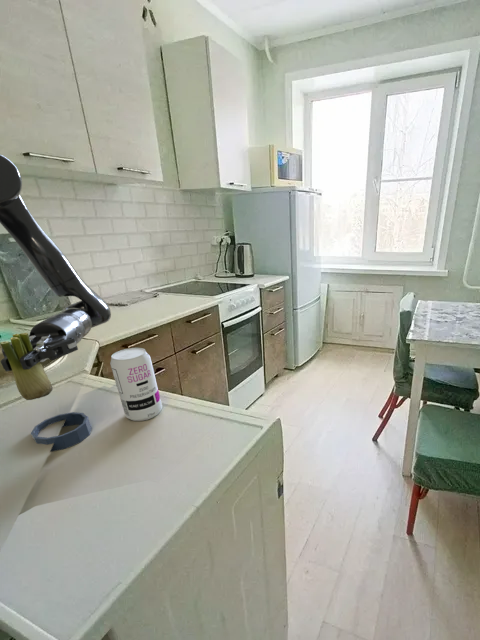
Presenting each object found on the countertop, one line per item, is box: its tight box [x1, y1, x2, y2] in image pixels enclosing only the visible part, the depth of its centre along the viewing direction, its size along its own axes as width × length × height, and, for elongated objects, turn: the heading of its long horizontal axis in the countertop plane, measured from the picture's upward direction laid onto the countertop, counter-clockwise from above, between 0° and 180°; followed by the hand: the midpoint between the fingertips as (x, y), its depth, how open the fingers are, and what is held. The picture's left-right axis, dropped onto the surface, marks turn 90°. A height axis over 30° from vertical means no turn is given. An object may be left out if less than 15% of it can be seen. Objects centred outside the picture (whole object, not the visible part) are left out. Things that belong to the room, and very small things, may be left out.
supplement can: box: [109, 347, 163, 422], centre depth 79 cm, size 8×8×15 cm
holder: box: [30, 411, 93, 453], centre depth 75 cm, size 10×10×3 cm
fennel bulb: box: [0, 332, 54, 401], centre depth 64 cm, size 6×5×12 cm
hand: (14, 365), depth 60 cm, fingers closed on fennel bulb, 2 cm apart
